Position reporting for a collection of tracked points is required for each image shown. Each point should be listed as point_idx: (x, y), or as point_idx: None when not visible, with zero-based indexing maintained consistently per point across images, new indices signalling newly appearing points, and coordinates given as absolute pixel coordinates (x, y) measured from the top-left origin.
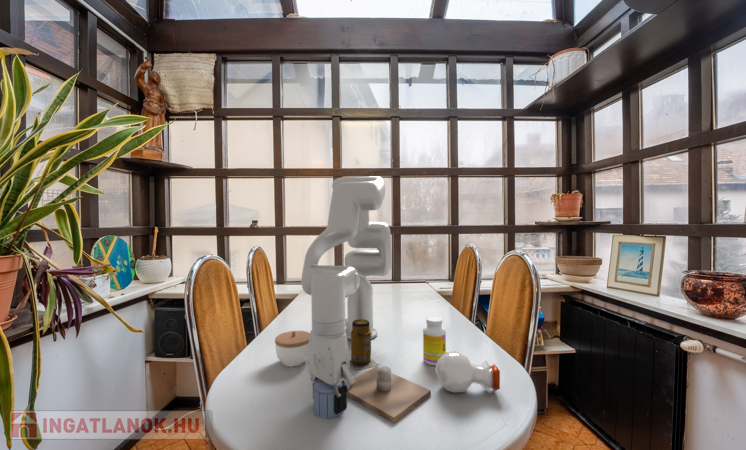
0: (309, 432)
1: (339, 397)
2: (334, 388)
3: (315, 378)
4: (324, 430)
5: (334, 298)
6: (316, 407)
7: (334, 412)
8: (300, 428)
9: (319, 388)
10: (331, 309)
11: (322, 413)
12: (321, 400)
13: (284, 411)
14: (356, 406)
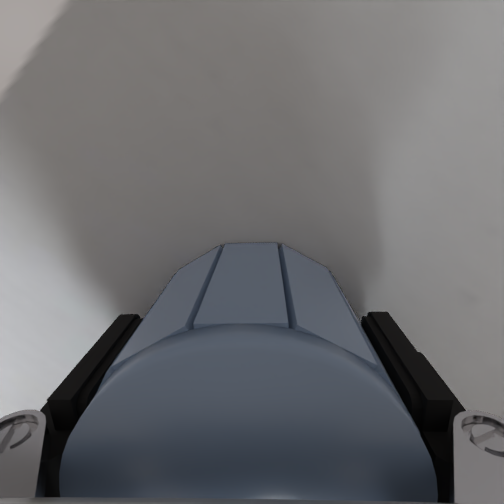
0: (136, 107)
1: (47, 417)
2: (33, 474)
3: (451, 464)
4: (92, 192)
5: None
6: (253, 260)
7: (130, 316)
8: (214, 83)
9: (201, 369)
10: None
11: (199, 263)
12: (183, 301)
13: (477, 101)
14: None
